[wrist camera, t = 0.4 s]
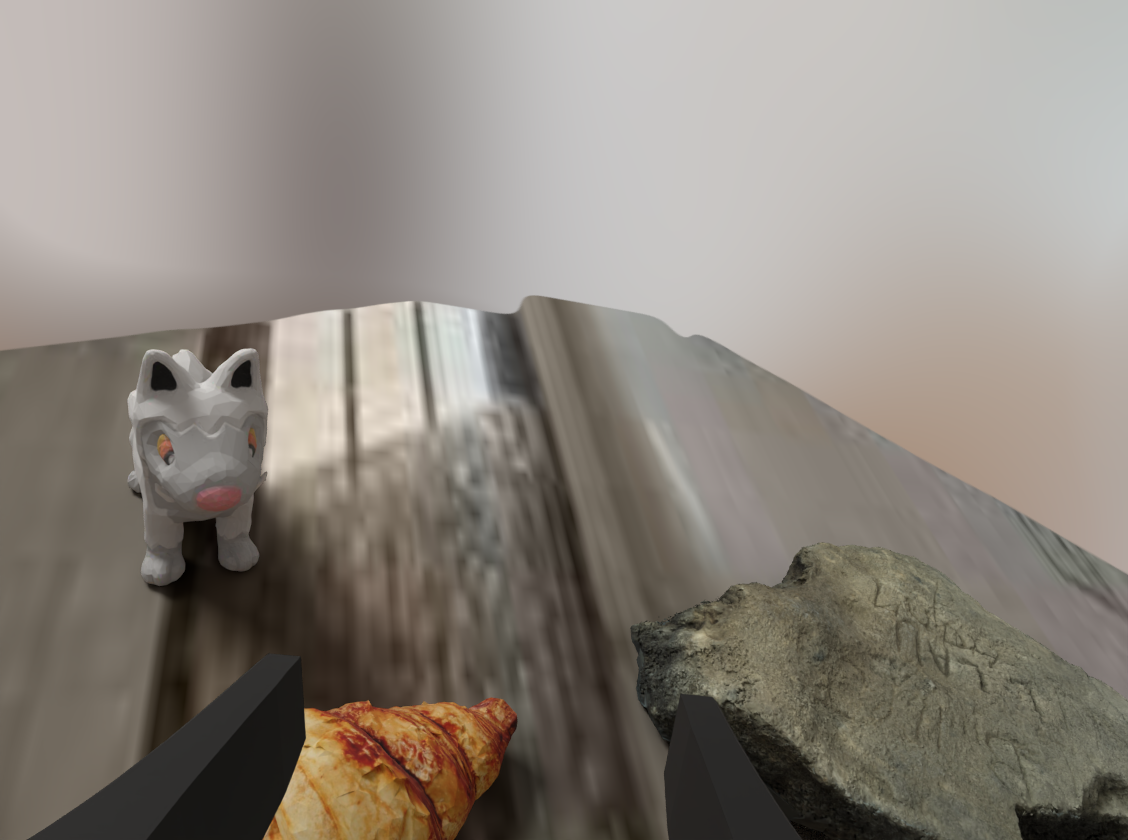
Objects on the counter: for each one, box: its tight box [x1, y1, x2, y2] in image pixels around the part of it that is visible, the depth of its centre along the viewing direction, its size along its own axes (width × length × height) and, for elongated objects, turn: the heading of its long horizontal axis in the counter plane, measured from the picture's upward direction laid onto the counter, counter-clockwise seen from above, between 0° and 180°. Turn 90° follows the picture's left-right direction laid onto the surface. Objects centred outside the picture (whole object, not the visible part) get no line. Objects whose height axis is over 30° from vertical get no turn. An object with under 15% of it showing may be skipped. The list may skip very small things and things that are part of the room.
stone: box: [630, 542, 1128, 840], centre depth 42 cm, size 35×6×29 cm
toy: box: [127, 349, 268, 586], centre depth 37 cm, size 6×19×15 cm, turn 31°
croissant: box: [263, 698, 517, 840], centre depth 26 cm, size 21×10×8 cm, turn 132°
